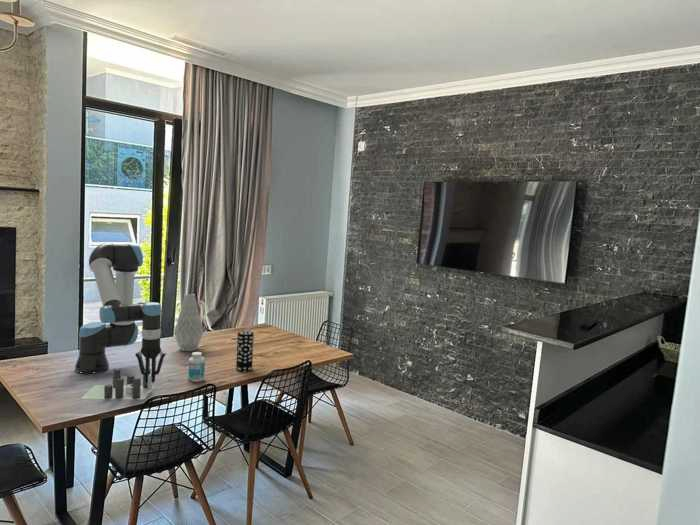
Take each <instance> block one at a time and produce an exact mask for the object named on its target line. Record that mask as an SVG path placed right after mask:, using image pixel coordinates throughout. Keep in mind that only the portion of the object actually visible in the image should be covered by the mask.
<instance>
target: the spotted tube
mask: <svg viewBox="0 0 700 525" xmlns="http://www.w3.org/2000/svg"><path fill="white" fill-rule="evenodd" d="M236 342H237V343H236V361H235V362H236V365H235V370H236V371H237V372H239V373H249V371H250V372H252V371H253V358H254V357H253V356H254V331H251V330H250V331H249V330H242V331H238V332H237V339H236Z"/></svg>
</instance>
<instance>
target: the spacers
mask: <svg viewBox="0 0 700 525" xmlns="http://www.w3.org/2000/svg"><path fill="white" fill-rule="evenodd" d="M151 373H152V369H150V373H149V374H151ZM135 376H136V375H132V374H129V375H127V376H126V385H128V384H133V391H132V398H133V399H132V400H139V399H138V398H140V392H141V386H143V388H148V382H145V379H146V376H145V375H144V374H142V379H141V378H136V377H135ZM124 380H125V379H124V378H122V369H121V368H114V369H112V384H106V385H105V384H104V385H105V386H104V398H105V399H104V400H110V399H109V398H112V394H113V388H115V398H116V399H115V400H122V399H121V398H123V393H124ZM141 383H142V385H141Z"/></svg>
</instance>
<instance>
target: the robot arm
mask: <svg viewBox="0 0 700 525" xmlns="http://www.w3.org/2000/svg"><path fill="white" fill-rule="evenodd" d="M143 257H144V256H143V251H142V248H141V247H140V245H139V244H138V243H131V242H119V243H118V242H112V243H111V242H106V243H102V244H100V245H97V246H96V247H95V248H93V250H92V252H91V253H90V255H89V258H88V266H89V269H90V271H91V272H92V273H93V275H94V278H95V282H96V286H97V290H98V293H99V296H100V300H101V304H102V306H101V307H100V308H99V320H100V321H93V322H88V323H85V324H83V325H81V327H80V328H79V331H78V332H79V334H78V337H79V339H78V340H79V341H78V342H79V343H78V344H79V345H78V347H79V348H78V349H79V350H78V352H79V354H78V357H77V360H76V364H75V366H74V371H75V370H76V371H78V372H82V373H93V372H99V373H102V372H101V371H103V372H106V371H108V370H109V369H108V368H109V367H110V364H109V361H108V357H107V355H106V349H107V348H112V347H113V348H114V347H115V348H116V347H123V346H124V347H126V346H131V345H133V344H135V343H136V342H137V339H138V336H139V324H138V323H137V321H140V322H142V324H141V325H142V327H141V328H142V330H141V331H142V332H141V337H142V339H141V349H140V350H139V351H137V352H136V353H135V357H136V359H137V362H138V366H139V369H140V370H139V371H140V374H141V375H143V374H144V375H145V376H146V379H145V382H148V390H151V391H152V390H153V389H152V388H154V387H153V386H154V385H153V383H155V381H156V375H159V374H160V372H161V369H162V366H163V362H164V359H165V356H166V355H167V352H164V351H162V348H161V333H162V332H161V323H162V322H161V320H162V305H161V303H159V302H154V301H153V302H152V301H151V302H150V301H149V302H143V301H139V302H137V303H133V301H134V289H135V288H134V287H135V274H136V273H137V272H138V271H139V268H140V267H142V266H143V264H144V261H143V260H144V258H143ZM112 270H113V271H114V272H115V277H114V274H113V271H112ZM158 356H160V358H159V360H158V364H157V357H158ZM143 357H144V358H145V359H144V360H145V364H144V360H143ZM150 363H151V364H150ZM156 366H157V368H156ZM150 368H151V369H150ZM107 369H108V370H107ZM105 370H106V371H105ZM150 370H151V374H149V373H150ZM76 371H75V372H76ZM78 372H77V373H78ZM82 373H81V374H82ZM93 374H94V373H93Z"/></svg>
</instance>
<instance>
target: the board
mask: <svg viewBox="0 0 700 525" xmlns="http://www.w3.org/2000/svg"><path fill="white" fill-rule="evenodd" d="M104 386H105V384H94V385H93V386H92V387H91V388H90V389H89V390H88V391H87V392H86V393H84V395H83V396H82V397H81V398H80V400H106V399H105V398H104ZM126 387H127V384H125V385H124V393H123V398H121V399H120V400H134V399H133V398H132V395H131V394H127V393H126ZM154 387H155V385H153V388H154ZM153 388H152V390H153ZM152 390H148V388H143V385H141V392H140V398H138V399H137V400H146V398H147V397H148V396H149V394H150V393H151V391H152ZM108 400H117V399H116V398H115V388H113V394H112V398H109V399H108Z"/></svg>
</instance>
